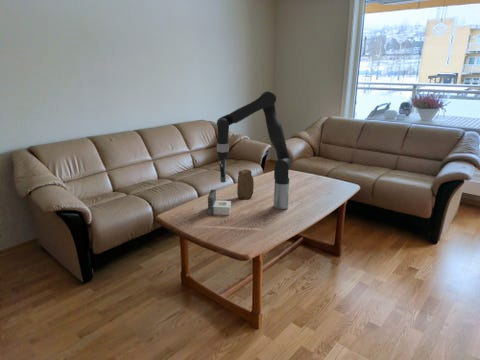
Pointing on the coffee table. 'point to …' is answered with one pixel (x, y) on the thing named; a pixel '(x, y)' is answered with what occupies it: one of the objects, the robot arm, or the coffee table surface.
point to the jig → (211, 201)
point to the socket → (222, 207)
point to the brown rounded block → (245, 184)
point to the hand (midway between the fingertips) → (223, 176)
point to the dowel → (223, 178)
